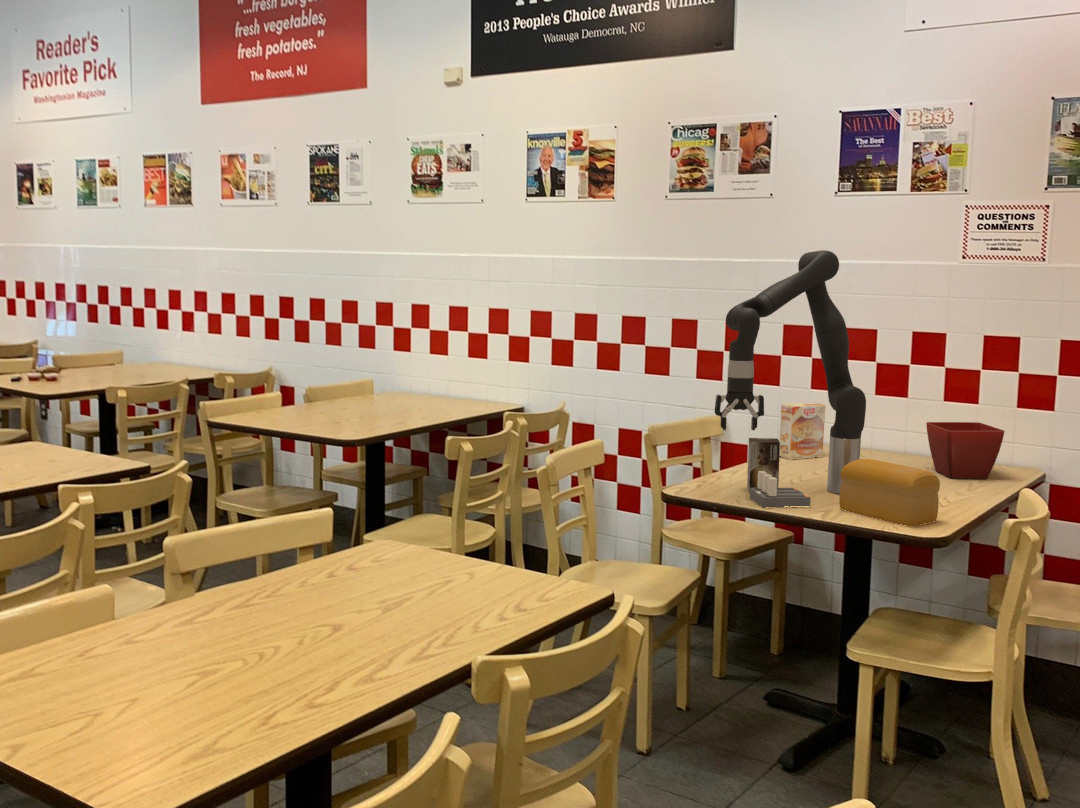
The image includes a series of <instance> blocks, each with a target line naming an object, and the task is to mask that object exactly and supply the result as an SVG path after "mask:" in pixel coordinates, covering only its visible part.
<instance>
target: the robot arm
mask: <svg viewBox="0 0 1080 808" xmlns="http://www.w3.org/2000/svg"><path fill="white" fill-rule="evenodd" d="M797 266H798V269H797V270H798V272H796V273H794V274H792V275H789V276H787V277H786V278H784V279H781V280H779V281H777V282H775V283H773V284H771V285H770V286H768V287H767V288H765V289H764V290H762V291H761V292H760V293H758V294H757V295H755V296H754V297H751V298H750V299H747V300H744V301H743V302H740V303H738V304H737V305H734V306H733V307H732V308H731V309H730V310H729V311H728V312H727V313H726V316H725V324H726V326H727V327H728V328H729V329H730V330H731V331H735V332H738V333H737V337H736V339H734V340H732V341H731V342H730V344H729V353H728V354H729V355H728V366H727V382H726V383H727V385H726V394H725V395H721V394H720V393H719V394H716V396H715V402H714V403H715V404H714V414H715V415H716V416H718V417H720V425H719V426H720V428H721V429H722V431H726V430H727V420H728V419H727V416H728V414H729V413H731V412H732V410H735V411H738V410H741V411H746V410H747V411H748V412H749V413H750V414H751V419H750V420H751V421H750V422H751V423H750V425H751V427H750V429H751V431H755V430H756V429H758V418H759V417H763V416H765V399H764V398H765V397H764V396H763V395H762V394H759V395H754V378H755V377H754V376H755V372H754V371H755V366H754V354H755V352H754V351H755V349H754V348H755V344H756V342H757V338H758V336H759V334H758V333H759V330H760V326H761V318H766V317H769V316H771V315H772V314H773V313H775V312H777V311H778V310H780V309H781V308H782V307H784V306H785V305H786V304H788V303H789V302H791V301H792V300H794V299H796V298H797V297H798V296H800V295H801V294H803V293H805V296H806V299H807V303H808V307H809V310H810V314H811V319H812V323H813V328H814V333H815V338H816V342H817V345H818V348H819V349H818V350H819V354H820V358H821V362H822V365H823V369H824V373H825V380H826V387H827V397H828V402H829V405H830V407H831V408H832V409H833V410H834V412H835V417H834V423H833V425H832V426H831V427H830V430H829V431H830V432H829V447H828V449H829V450H828V451H829V452H828V464H827V465H828V466H827V479H826V480H827V482H826V490H827V492H829V491H830V492H829V493H832V494H838V493H839V495H840V487H841V483H842V480H841V471H842V469H843V467H844V466H845V465H847V464H848V463H850V462H852V461H855V460H858V459H861V444H862V433H863V430H864V427H865V420H866V413H867V412H866V411H867V398H866V395H865V392H864V391H863V390H862V389H860V388H859V387H857V386H854V384H853V379H852V377H851V373H850V369H849V354H850V353H849V352H850V340H849V339H850V338H849V334H848V333H849V332H848V330H847V325H846V321H845V318H844V317H843V315H842V313H841V312H840V310H839V309H838V307H837V306H836V304H835V303H834V302H833V300H832V299H831V297H830V295H829V292H828V289H827V285H826V282H827V281H830V280H831V279H832V278H834V277H835V276H836V275H837V274H838V271H839V269H840V260H839V258H838V256H837V255H836V254H835V252H833V251H830V250H825V249H824V250H815V251H810V252H805V253H804V254H802V255H801V257H800V258H799V260H798V265H797ZM724 400H725V401H726V402H727V404H726V405H725V407H724V409H723V410H722V411H721V407H722V403H723V402H724ZM754 401H755V402H756V403H757V405H758V406H757V411H756V410H755V409H754V408H753V406H752V404H753V402H754Z"/></svg>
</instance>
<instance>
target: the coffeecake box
mask: <svg viewBox="0 0 1080 808" xmlns="http://www.w3.org/2000/svg"><path fill="white" fill-rule="evenodd" d="M826 406H827V405H826V404H823V403H818V402H801V403H800V402H797V403H782V404H781V407H780V409H781V410H780V424H779V426H780V427H779V439H778V440H779V442H780V454H779V456H781V457H780V458H782V457H783V458H782V459H785V458H786V459H785V460H788V459H790V460H789V461H791V460H792V461H793V459H796V460H806V459H805V458H808V459H816V458H815V457H822V458H823V454H824V453H823V452H824V451H823V450H824V437H825V435H824V434H825V421H826V420H825V419H826Z"/></svg>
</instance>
